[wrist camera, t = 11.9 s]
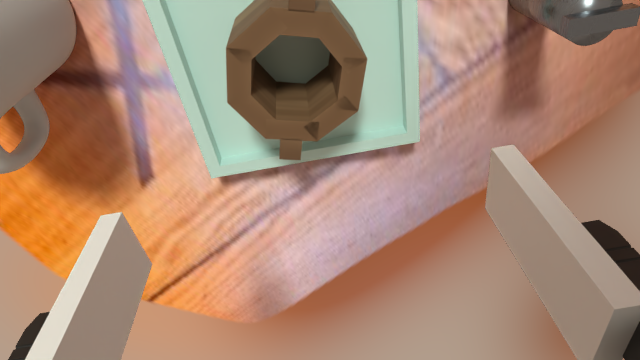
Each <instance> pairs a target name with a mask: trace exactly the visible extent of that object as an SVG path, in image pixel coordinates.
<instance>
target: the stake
mask: <svg viewBox="0 0 640 360" xmlns="http://www.w3.org/2000/svg"><path fill="white" fill-rule="evenodd" d="M509 3H510V5H511V6H512V7H513V8H514V9H515V10H517V11H518V12H520V13H522V14H524V15H525V16H527V17H529V18H531V19H533V20H534V21H536V22H538V23H540V24H541V25H543V26H545V27H547V28H548V29H550V30H552V31H554V32H556V33H557V34H559V35H561V36H563V37H564V38H566V39H568V40H570V41H571V42H573V43H575V44H577V45H581V46H587V45H592V44H595V43H597V42H599V41H601V40H603V39H604V38H605V37H607V36H608V35H609V34H610V33H611V32H612V31H613V30H616V29H621V28H627V27H632V26H637V22H638V19H639V15H640V6H638V5H636V4H633V3H629V4H624V5H623V3H622V0H509Z"/></svg>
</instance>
